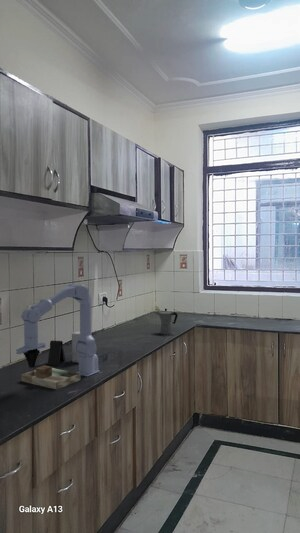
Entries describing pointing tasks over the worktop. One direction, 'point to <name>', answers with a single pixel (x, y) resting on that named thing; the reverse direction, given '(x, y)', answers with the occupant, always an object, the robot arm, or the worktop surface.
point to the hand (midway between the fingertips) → (31, 367)
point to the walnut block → (43, 371)
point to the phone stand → (56, 353)
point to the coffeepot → (166, 321)
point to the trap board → (52, 378)
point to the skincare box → (74, 341)
